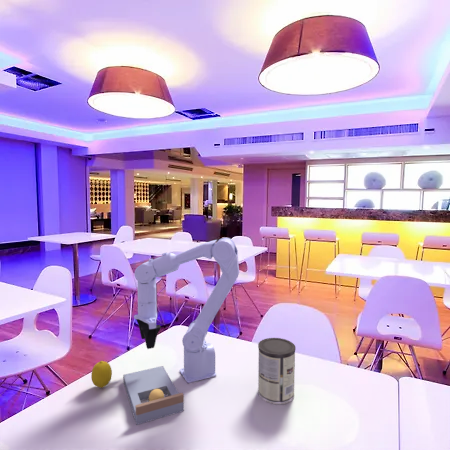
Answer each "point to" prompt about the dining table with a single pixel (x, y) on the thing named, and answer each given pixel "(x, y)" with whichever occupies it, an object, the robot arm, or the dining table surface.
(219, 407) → the dining table surface
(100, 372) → the lemon
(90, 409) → the dining table surface
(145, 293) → the robot arm
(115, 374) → the dining table surface
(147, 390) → the grey piece
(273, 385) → the coffee can
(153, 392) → the ball
